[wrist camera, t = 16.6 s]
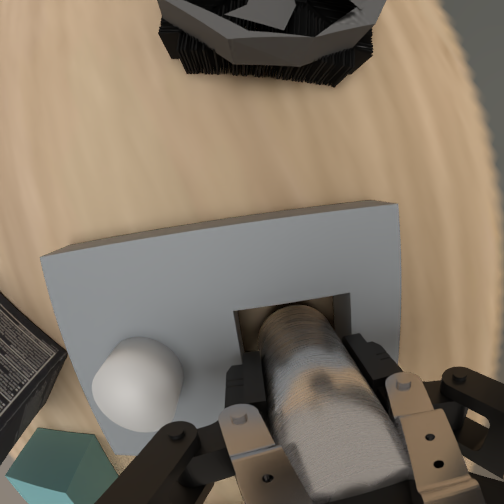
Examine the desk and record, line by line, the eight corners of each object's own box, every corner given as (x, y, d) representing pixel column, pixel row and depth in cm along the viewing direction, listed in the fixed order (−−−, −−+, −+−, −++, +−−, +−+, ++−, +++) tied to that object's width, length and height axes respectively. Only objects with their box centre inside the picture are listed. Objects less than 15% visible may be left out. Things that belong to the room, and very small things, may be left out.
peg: (334, 362, 15) (414, 519, 6) (264, 376, 15) (288, 554, 6) (327, 297, 15) (438, 444, 5) (251, 313, 15) (270, 493, 5)
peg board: (373, 394, 18) (406, 449, 13) (127, 424, 18) (104, 482, 12) (371, 199, 15) (427, 208, 10) (69, 245, 15) (9, 269, 10)
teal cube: (94, 434, 18) (65, 493, 12) (121, 481, 19) (104, 536, 13) (37, 427, 18) (5, 475, 12) (67, 473, 19) (44, 520, 13)
